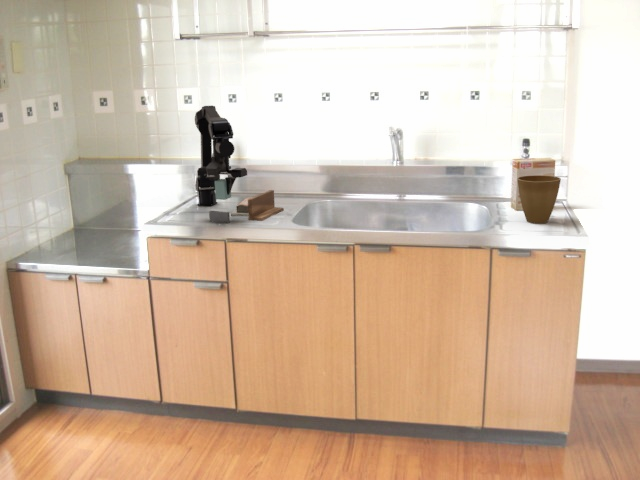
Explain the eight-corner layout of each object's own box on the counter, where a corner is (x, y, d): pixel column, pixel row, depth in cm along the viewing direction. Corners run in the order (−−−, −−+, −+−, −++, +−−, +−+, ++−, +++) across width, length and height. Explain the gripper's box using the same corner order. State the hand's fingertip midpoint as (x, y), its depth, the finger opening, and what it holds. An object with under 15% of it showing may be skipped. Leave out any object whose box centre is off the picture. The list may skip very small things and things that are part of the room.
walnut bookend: (248, 219, 273) (247, 199, 271) (271, 209, 291) (270, 190, 289) (261, 220, 271) (261, 200, 269) (283, 210, 289) (282, 190, 287)
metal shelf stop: (209, 221, 271) (209, 211, 270) (211, 221, 272) (210, 211, 271) (228, 223, 268) (227, 212, 267) (229, 222, 269) (229, 212, 268)
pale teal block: (215, 199, 270) (214, 181, 268) (222, 196, 274) (221, 178, 273) (225, 199, 269) (223, 181, 267) (231, 197, 273) (230, 179, 271)
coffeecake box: (547, 205, 284) (549, 157, 279) (553, 209, 277) (556, 159, 272) (510, 207, 284) (512, 158, 279) (515, 210, 277) (517, 161, 272)
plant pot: (559, 218, 262) (562, 175, 258) (556, 227, 249) (559, 182, 245) (518, 215, 268) (520, 173, 264) (512, 224, 255) (514, 180, 251)
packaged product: (241, 196, 296) (264, 196, 295) (241, 207, 298) (264, 208, 296) (230, 205, 279) (254, 205, 278) (230, 217, 280) (255, 217, 279)
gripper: (188, 155, 263) (191, 197, 267) (232, 157, 257) (235, 199, 261) (203, 151, 273) (206, 191, 277) (246, 153, 267) (248, 194, 271)
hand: (223, 194), depth 271 cm, fingers closed on pale teal block, 4 cm apart
